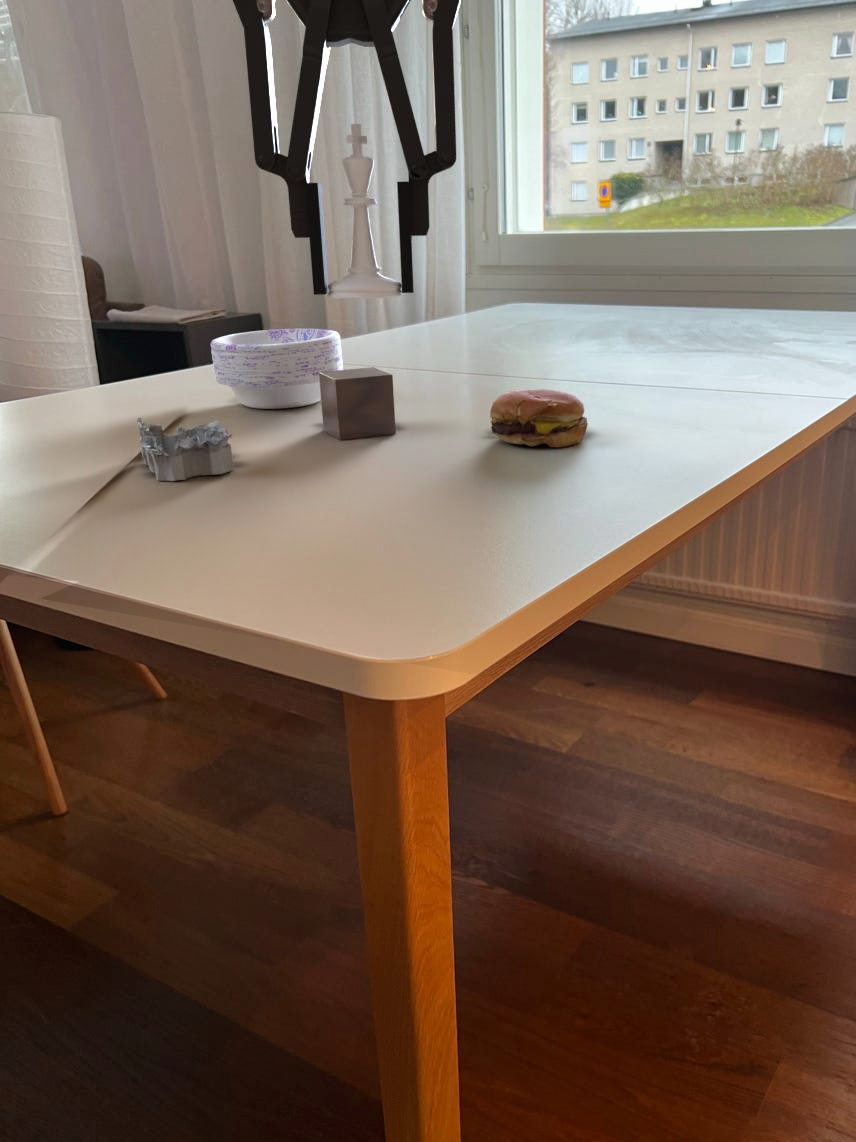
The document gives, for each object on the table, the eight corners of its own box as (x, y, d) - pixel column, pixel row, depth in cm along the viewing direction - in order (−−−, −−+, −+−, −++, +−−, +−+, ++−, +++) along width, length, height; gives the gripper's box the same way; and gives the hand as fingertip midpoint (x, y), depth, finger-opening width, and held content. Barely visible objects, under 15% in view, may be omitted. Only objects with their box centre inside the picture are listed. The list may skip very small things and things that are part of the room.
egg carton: (140, 460, 94) (132, 417, 92) (220, 451, 97) (214, 409, 95) (152, 485, 85) (144, 437, 83) (240, 475, 88) (234, 428, 86)
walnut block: (340, 440, 100) (335, 379, 98) (323, 429, 105) (318, 371, 103) (396, 434, 102) (392, 374, 100) (377, 424, 107) (373, 367, 105)
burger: (540, 425, 104) (540, 380, 103) (605, 439, 98) (607, 391, 96) (468, 440, 99) (467, 393, 97) (532, 456, 92) (532, 405, 90)
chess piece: (416, 293, 66) (410, 125, 62) (378, 299, 62) (369, 119, 58) (353, 292, 68) (343, 128, 64) (312, 298, 64) (299, 123, 60)
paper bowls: (194, 412, 116) (184, 342, 112) (255, 390, 129) (248, 327, 126) (314, 416, 112) (307, 343, 109) (364, 393, 125) (359, 328, 122)
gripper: (494, -127, 59) (497, 285, 69) (191, -127, 59) (235, 290, 68) (505, -170, 53) (506, 294, 62) (161, -172, 52) (215, 299, 61)
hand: (364, 291), depth 65 cm, fingers closed on chess piece, 5 cm apart
